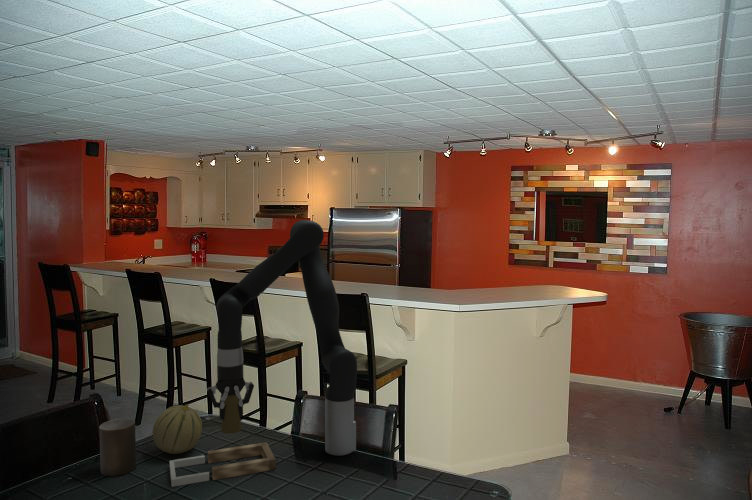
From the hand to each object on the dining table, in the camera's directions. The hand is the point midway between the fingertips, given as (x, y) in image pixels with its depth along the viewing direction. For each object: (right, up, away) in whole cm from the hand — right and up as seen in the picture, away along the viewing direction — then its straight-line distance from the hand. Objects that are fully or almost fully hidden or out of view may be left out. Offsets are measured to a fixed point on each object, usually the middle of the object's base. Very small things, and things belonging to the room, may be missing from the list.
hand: (231, 418), depth 163 cm
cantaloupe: (-20, -14, +11) cm, 27 cm away
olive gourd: (0, -4, 0) cm, 4 cm away
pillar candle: (-33, -15, -1) cm, 36 cm away
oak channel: (+2, -15, +2) cm, 15 cm away
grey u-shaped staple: (-10, -15, -4) cm, 18 cm away
